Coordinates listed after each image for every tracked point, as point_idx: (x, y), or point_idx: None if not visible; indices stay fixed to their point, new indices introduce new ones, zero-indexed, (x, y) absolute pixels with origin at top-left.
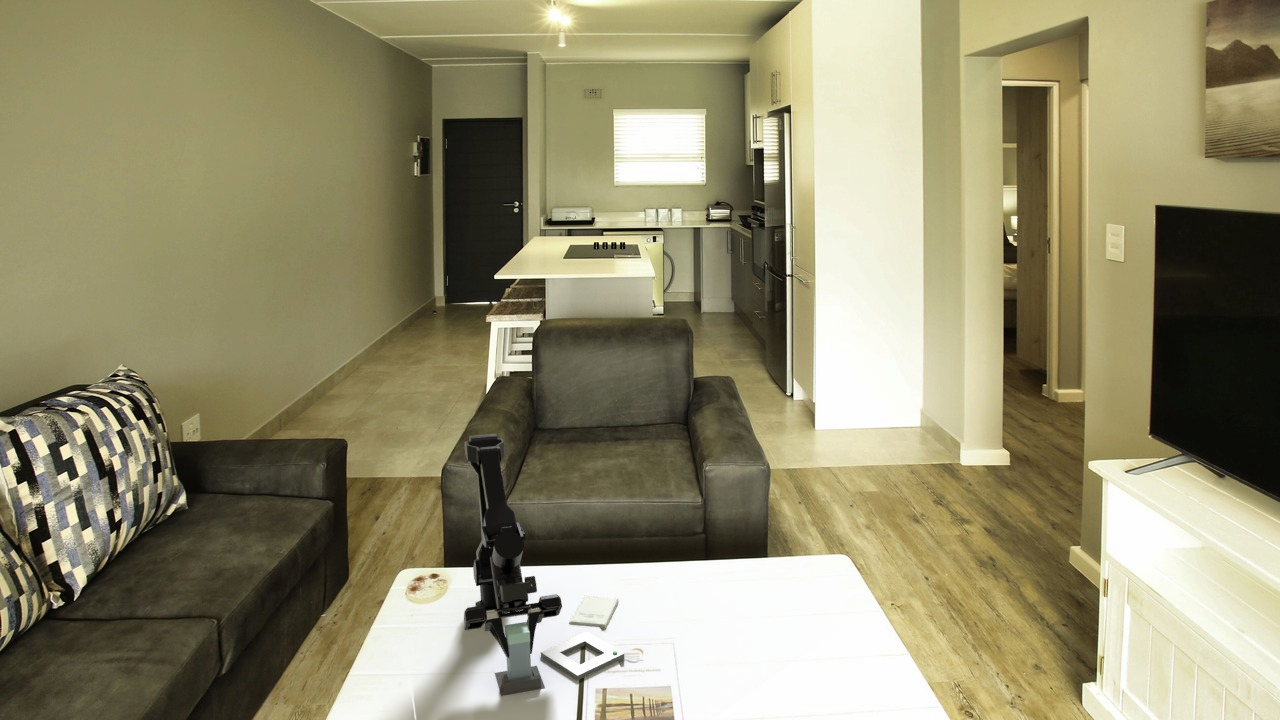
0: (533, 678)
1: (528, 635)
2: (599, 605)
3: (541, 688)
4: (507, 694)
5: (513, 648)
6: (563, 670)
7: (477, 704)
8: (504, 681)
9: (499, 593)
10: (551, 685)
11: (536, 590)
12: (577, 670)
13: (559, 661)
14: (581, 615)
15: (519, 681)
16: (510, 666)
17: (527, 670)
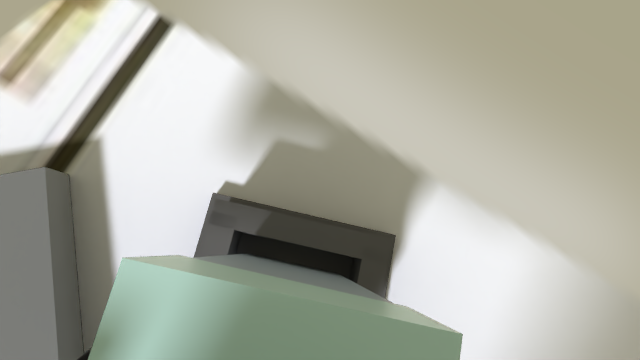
0: (247, 214)
1: (167, 259)
2: None
3: (228, 197)
4: (369, 232)
5: (350, 292)
6: (67, 277)
7: (487, 246)
8: (381, 264)
9: None
10: (175, 215)
11: None
12: (16, 206)
13: (39, 338)
14: None
15: (318, 224)
16: (353, 283)
17: (256, 258)
